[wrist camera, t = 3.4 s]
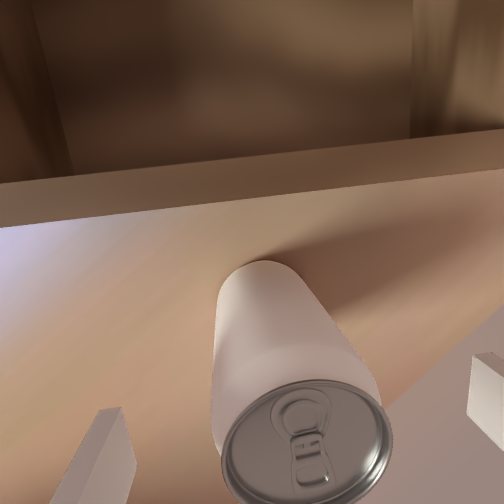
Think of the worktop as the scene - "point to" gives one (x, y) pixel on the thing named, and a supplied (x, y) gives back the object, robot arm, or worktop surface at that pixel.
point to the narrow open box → (239, 99)
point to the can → (291, 396)
